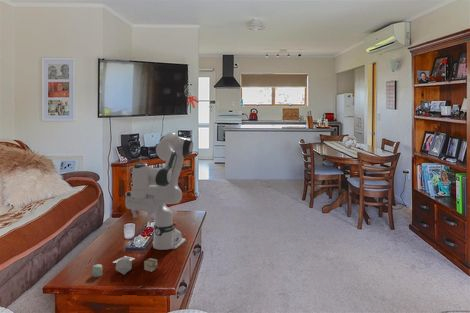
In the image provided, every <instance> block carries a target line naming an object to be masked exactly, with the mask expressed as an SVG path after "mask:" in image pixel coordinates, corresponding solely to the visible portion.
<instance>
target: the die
mask: <svg viewBox="0 0 470 313" xmlns="http://www.w3.org/2000/svg"><path fill="white" fill-rule="evenodd" d="M120 258H121V259H120ZM120 258H119V259H120V260H118V259H117V260H118V261H117V263H116V264H115V271H116V272H119V273H120V274H122V275H124V276H125V275H126V274H127V273H128V272H130V271H131V270H132V268H133V266H132V264H133V260H132V261H130V260H129V259H127V258H125V257H124V256H123V258H122V257H120Z"/></svg>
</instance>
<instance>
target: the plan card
mask: <svg viewBox="0 0 470 313" xmlns="http://www.w3.org/2000/svg"><path fill="white" fill-rule="evenodd" d="M123 257H125V258H127V259H129V260H130V261H132V262H133V261H134V260H136V258H134V257H132V256H131V257H130V256H127V255H124V256H123ZM123 257H120V258H118V259H116V260H114V261H112V263H113V264H115V263H117V261H118V260H120V259H121V258H123Z"/></svg>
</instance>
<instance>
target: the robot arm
mask: <svg viewBox="0 0 470 313" xmlns="http://www.w3.org/2000/svg"><path fill="white" fill-rule="evenodd" d="M193 149H194V142H193V140H192V139H191V138H185V137H182V136H178V134H177V133H175V132H167V133H166V134H165V135H162V136H161V137H160V139H159V141H158V144H157V145H156V149H155V153H156V155H157V157H158V158H159V159H160V160H162V161H163V162H164V161H165V163H164V166H163V167H152V166H148V164H147V163H145V162H140V163H139V162H138V163H135V164H134V165H133V167H132V170H131V171H132V172H131V174H132V175H131V182H132V190H130V191H126V192H125V200H124V201H125V207H126V209H127V210H130V211H131V213H132V217H133V218H134V219H135V218H138V213H137V211H139V212H144V213H147V216H146V217H145V218H146V220H147V221H150V220H151V219H152V218H151V217H152V215H153V217H154V218H153V219H154V225H153V228H154V229H153V230H154V231H153V240H152V248H153V249H155V250H158V251H159V250H160V251H162V250H163V251H164V250H166V251H167V250H171V249H172V250H175V249H177V248H178V247H180V246H181V245H183V244H184V243H185V242H186V238H185V237H183V235H182V231H180V230H178V229H177V228H176V227H177V225H178V223H177V222H173V212H172V209H171V208H169V207H168V206H167V204H168V205H174V204H179V203H180V202H181V201H182V199H183V192H182V190H181V188H180V187H179V185H178V184H179V182H178V181H179V177H180V174H181V171H182V168H183V164H184V160H185V158H186V157H188V156H189V155H191V153H192V151H193Z"/></svg>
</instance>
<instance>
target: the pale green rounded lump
mask: <svg viewBox="0 0 470 313" xmlns="http://www.w3.org/2000/svg"><path fill="white" fill-rule="evenodd" d="M103 273H104V272H103V265H102V264H99V263H97V264H94V265H93V266H92V276H93V277H94V278H100V277H102V276H103Z"/></svg>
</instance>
